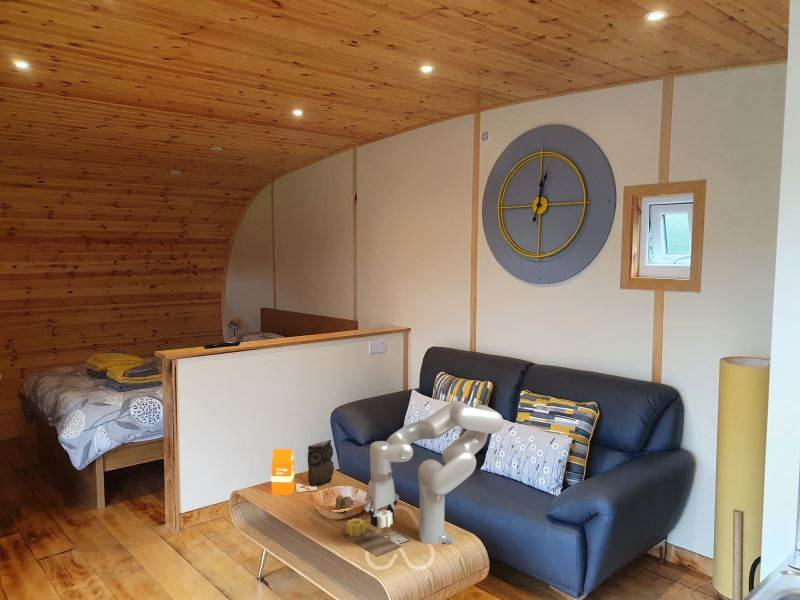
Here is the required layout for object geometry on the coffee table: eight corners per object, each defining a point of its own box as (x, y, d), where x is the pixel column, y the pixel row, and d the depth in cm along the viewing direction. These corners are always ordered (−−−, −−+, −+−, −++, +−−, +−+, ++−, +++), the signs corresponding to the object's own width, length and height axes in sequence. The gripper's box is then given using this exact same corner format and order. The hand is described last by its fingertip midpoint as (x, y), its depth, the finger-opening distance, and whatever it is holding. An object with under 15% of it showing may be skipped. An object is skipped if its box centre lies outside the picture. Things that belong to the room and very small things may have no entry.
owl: (334, 478, 300) (334, 438, 298) (329, 488, 287) (329, 446, 286) (309, 477, 301) (309, 437, 299) (303, 487, 288) (302, 445, 287)
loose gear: (396, 523, 227) (396, 513, 227) (381, 530, 222) (381, 519, 222) (384, 517, 232) (383, 507, 232) (369, 523, 227) (369, 513, 227)
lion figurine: (356, 518, 255) (356, 496, 255) (344, 521, 252) (344, 499, 252) (339, 505, 268) (339, 485, 267) (328, 508, 265) (328, 488, 264)
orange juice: (290, 495, 279) (290, 452, 277) (271, 494, 279) (271, 451, 278) (294, 488, 287) (293, 446, 285) (275, 488, 287) (275, 446, 285)
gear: (368, 530, 240) (368, 520, 240) (359, 537, 234) (359, 527, 234) (352, 526, 244) (352, 517, 243) (343, 534, 237) (343, 524, 237)
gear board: (402, 550, 228) (402, 538, 227) (376, 560, 220) (377, 548, 219) (362, 528, 246) (362, 517, 245) (337, 537, 238) (337, 526, 237)
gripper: (392, 467, 234) (393, 512, 236) (356, 479, 223) (357, 526, 224) (405, 472, 229) (406, 518, 230) (368, 485, 217) (370, 533, 219)
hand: (382, 522), depth 227 cm, fingers closed on loose gear, 7 cm apart
